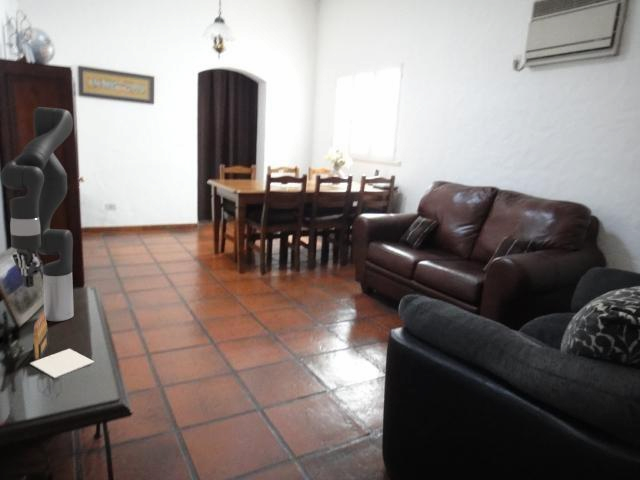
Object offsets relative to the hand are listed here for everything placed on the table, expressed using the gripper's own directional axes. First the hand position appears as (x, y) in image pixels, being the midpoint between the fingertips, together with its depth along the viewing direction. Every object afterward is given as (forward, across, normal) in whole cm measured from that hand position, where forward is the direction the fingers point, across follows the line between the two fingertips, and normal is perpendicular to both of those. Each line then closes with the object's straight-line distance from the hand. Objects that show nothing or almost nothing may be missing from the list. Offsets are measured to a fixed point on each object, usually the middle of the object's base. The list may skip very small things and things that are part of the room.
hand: (28, 286), depth 138 cm
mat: (+20, -17, 0) cm, 27 cm away
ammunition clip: (+21, -6, 0) cm, 21 cm away
